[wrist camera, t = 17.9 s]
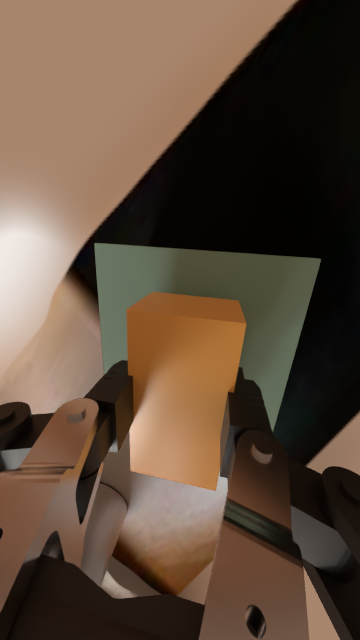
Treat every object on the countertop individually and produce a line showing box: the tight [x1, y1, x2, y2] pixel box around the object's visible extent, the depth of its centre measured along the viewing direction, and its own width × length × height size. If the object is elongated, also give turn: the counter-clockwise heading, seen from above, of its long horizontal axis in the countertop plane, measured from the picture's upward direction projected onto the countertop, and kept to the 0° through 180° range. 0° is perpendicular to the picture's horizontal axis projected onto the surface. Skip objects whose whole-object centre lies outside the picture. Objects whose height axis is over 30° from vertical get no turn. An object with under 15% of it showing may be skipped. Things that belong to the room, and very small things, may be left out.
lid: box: [94, 243, 321, 432], centre depth 13 cm, size 11×11×1 cm
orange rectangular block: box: [126, 292, 246, 491], centre depth 10 cm, size 8×4×3 cm, turn 176°
